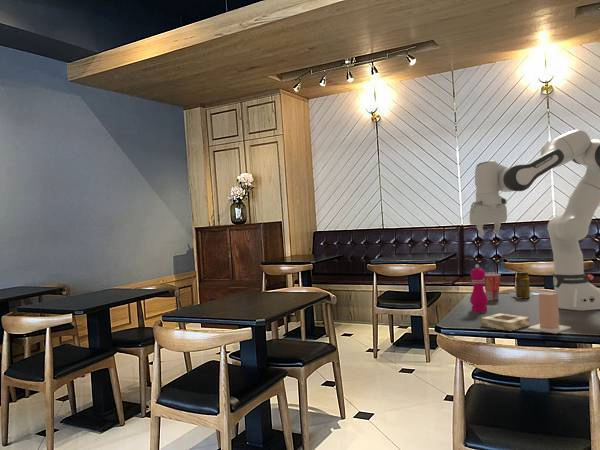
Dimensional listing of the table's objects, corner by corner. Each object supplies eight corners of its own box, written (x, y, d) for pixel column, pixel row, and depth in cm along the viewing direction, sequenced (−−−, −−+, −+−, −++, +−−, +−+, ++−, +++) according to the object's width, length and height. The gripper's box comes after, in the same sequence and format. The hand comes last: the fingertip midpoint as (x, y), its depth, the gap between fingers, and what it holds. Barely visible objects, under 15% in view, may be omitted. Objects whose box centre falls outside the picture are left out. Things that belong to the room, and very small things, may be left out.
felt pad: (543, 324, 183) (543, 322, 183) (570, 328, 175) (570, 326, 175) (528, 328, 177) (528, 327, 177) (555, 333, 169) (555, 331, 169)
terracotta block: (546, 324, 179) (545, 292, 179) (559, 326, 175) (557, 293, 175) (540, 327, 176) (538, 293, 176) (552, 329, 173) (550, 295, 173)
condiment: (533, 296, 238) (532, 271, 238) (526, 299, 232) (525, 273, 232) (518, 295, 243) (516, 271, 243) (510, 298, 237) (509, 273, 237)
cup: (500, 297, 240) (499, 272, 240) (503, 300, 232) (502, 275, 231) (480, 297, 242) (479, 273, 242) (482, 301, 234) (481, 275, 233)
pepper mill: (489, 312, 208) (487, 265, 208) (471, 312, 210) (469, 265, 210) (486, 308, 216) (484, 263, 215) (469, 309, 217) (467, 263, 217)
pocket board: (500, 320, 192) (500, 313, 192) (529, 325, 182) (529, 317, 182) (481, 326, 185) (481, 318, 185) (510, 331, 175) (510, 322, 175)
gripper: (478, 201, 191) (480, 236, 191) (509, 199, 203) (510, 233, 203) (464, 202, 196) (466, 236, 197) (495, 200, 208) (497, 233, 208)
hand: (489, 235), depth 200 cm, fingers open, 8 cm apart
